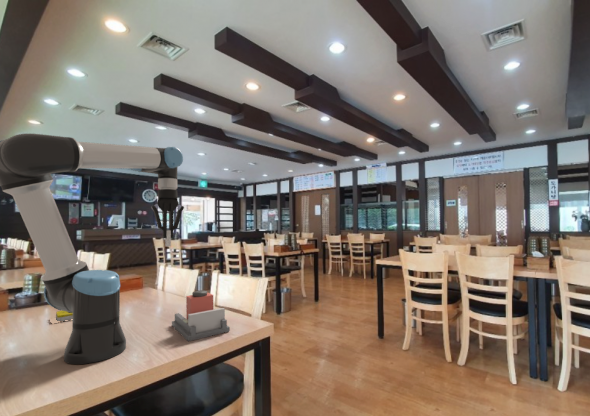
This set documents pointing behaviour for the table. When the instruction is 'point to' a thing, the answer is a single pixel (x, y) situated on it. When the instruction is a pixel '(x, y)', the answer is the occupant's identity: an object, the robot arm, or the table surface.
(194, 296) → the block
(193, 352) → the table surface
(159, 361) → the table surface
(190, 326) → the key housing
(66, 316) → the emergency button
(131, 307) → the table surface
